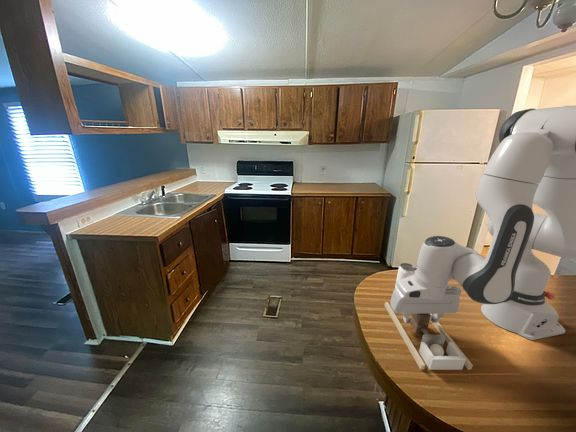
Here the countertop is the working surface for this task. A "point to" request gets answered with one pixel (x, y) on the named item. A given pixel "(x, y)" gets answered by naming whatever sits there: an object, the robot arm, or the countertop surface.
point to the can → (405, 271)
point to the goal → (443, 358)
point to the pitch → (411, 346)
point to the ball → (437, 350)
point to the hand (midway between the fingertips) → (419, 321)
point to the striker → (425, 329)
